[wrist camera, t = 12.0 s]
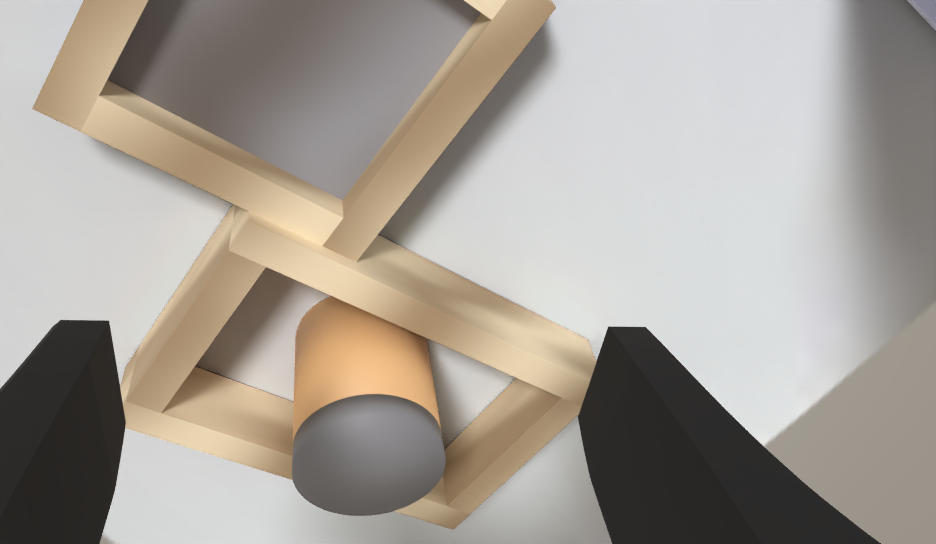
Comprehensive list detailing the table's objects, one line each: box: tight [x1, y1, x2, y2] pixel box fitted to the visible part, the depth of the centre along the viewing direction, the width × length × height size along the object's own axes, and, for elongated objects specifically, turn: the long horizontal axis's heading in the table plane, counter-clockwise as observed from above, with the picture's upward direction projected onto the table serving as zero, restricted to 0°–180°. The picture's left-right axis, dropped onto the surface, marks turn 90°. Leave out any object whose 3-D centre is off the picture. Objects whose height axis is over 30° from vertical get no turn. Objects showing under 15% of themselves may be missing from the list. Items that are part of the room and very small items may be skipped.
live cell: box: [292, 296, 446, 516], centre depth 23 cm, size 4×4×5 cm
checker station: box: [32, 0, 596, 529], centre depth 21 cm, size 17×16×2 cm
